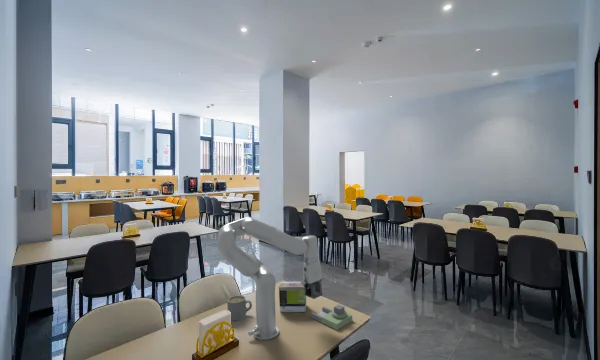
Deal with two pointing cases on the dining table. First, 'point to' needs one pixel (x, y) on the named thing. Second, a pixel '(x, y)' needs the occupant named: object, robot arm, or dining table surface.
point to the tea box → (292, 297)
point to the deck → (333, 317)
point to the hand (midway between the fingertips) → (313, 292)
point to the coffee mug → (238, 307)
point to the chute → (315, 289)
